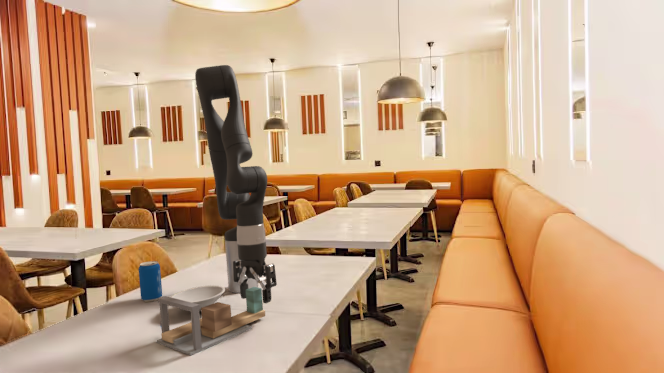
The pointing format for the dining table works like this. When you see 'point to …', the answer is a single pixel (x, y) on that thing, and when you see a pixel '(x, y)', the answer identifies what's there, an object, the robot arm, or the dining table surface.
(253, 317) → the strip
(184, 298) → the dish
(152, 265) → the beverage can
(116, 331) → the dining table surface
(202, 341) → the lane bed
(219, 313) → the walnut block
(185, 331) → the far strip
